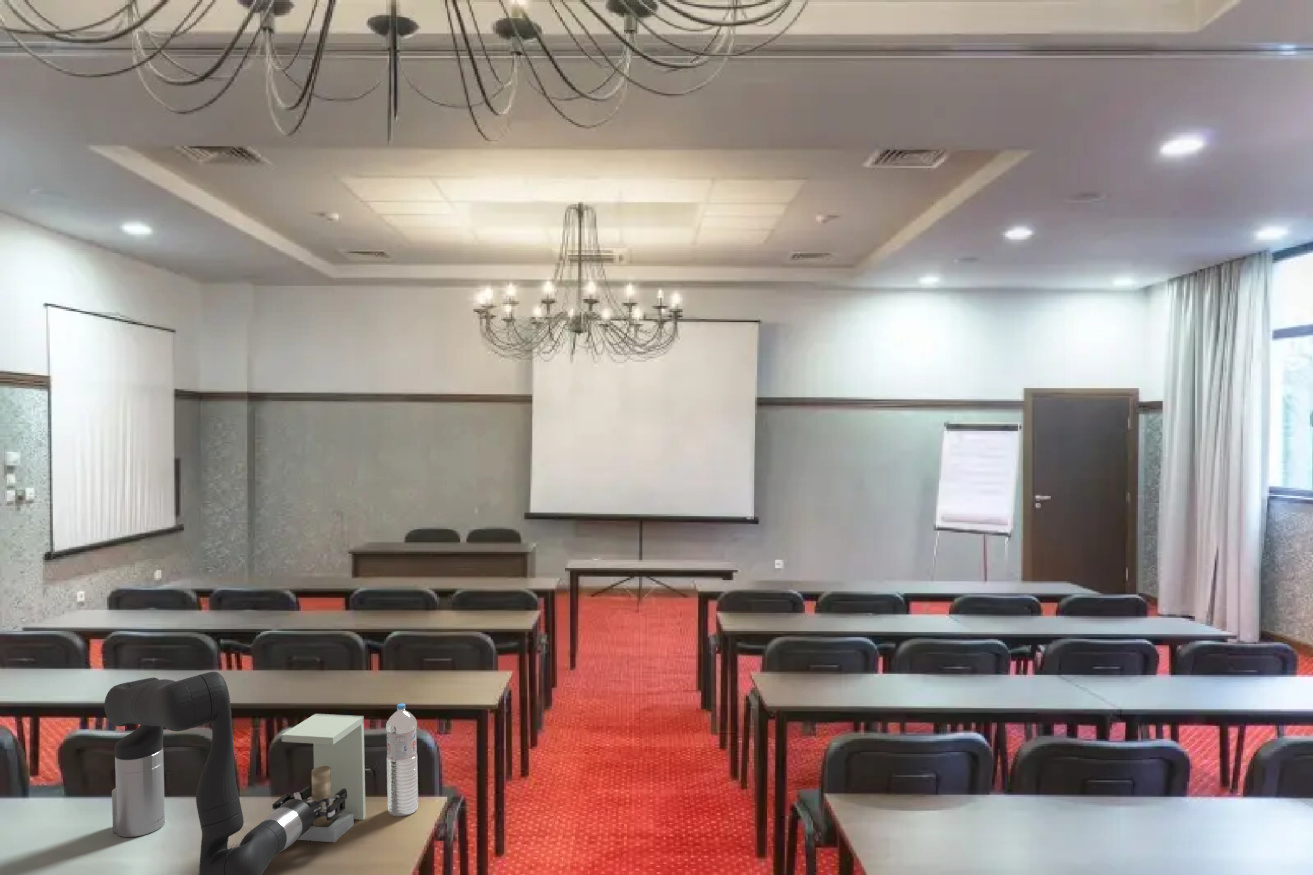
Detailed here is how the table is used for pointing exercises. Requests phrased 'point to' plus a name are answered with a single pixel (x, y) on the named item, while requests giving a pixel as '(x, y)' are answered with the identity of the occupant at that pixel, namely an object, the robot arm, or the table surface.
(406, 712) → the water bottle
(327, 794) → the peg
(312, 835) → the socket stand
